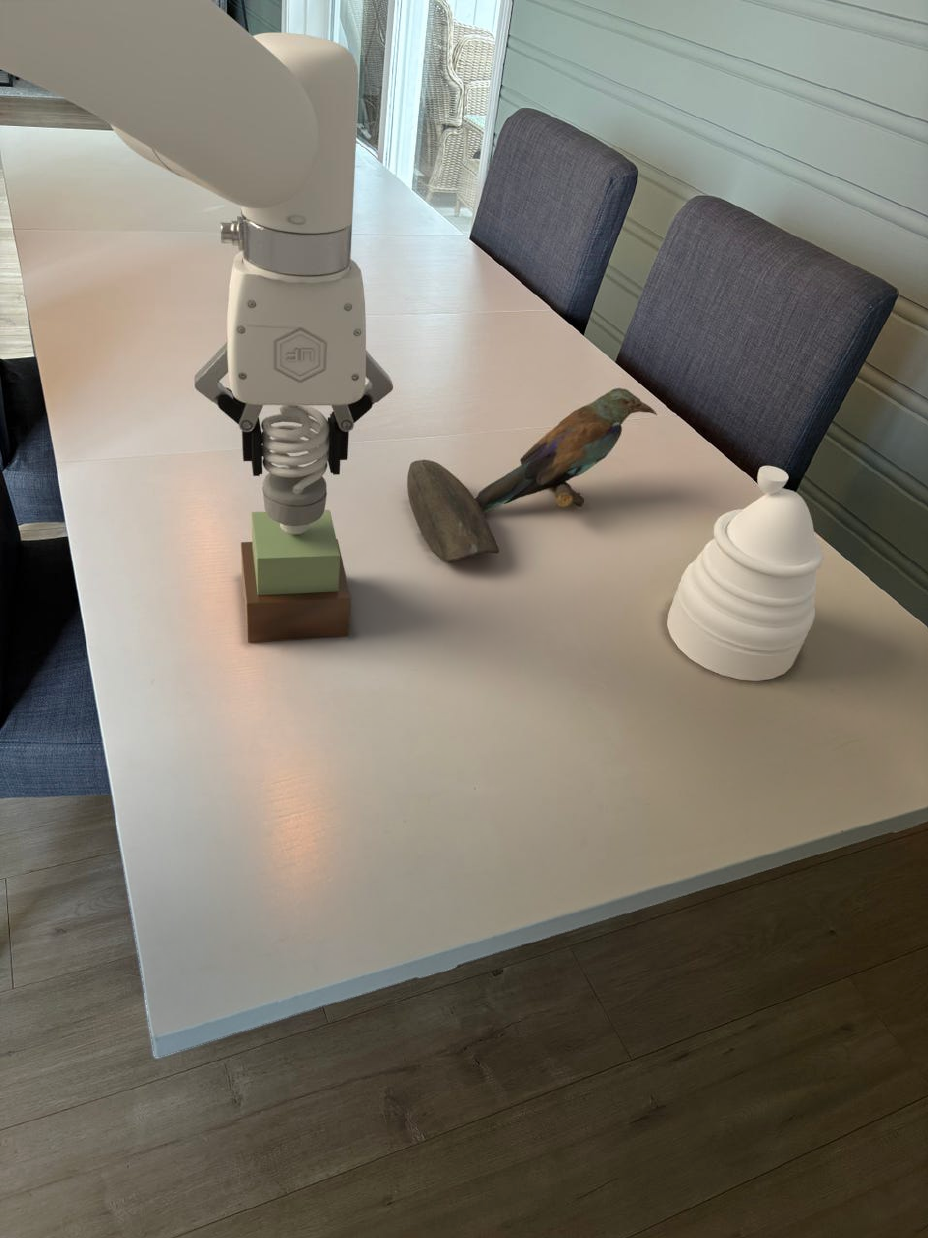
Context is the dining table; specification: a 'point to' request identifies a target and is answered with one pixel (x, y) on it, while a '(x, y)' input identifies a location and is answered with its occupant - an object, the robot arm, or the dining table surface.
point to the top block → (295, 557)
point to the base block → (293, 608)
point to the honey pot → (751, 587)
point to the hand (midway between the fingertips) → (295, 464)
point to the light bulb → (295, 467)
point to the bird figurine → (566, 452)
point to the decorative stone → (447, 513)
